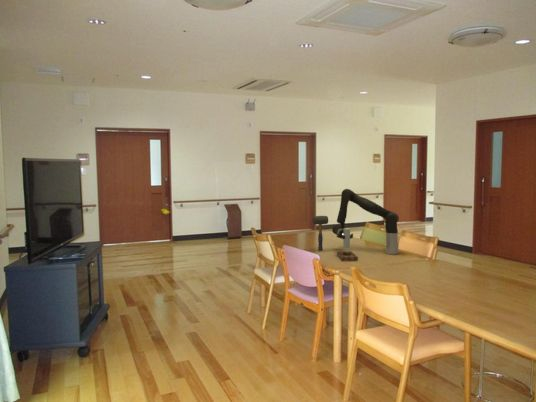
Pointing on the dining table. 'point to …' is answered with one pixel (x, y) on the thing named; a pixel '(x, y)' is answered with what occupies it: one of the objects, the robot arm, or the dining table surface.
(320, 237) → the rubber mallet
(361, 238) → the dining table surface
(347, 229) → the plank post
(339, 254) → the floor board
